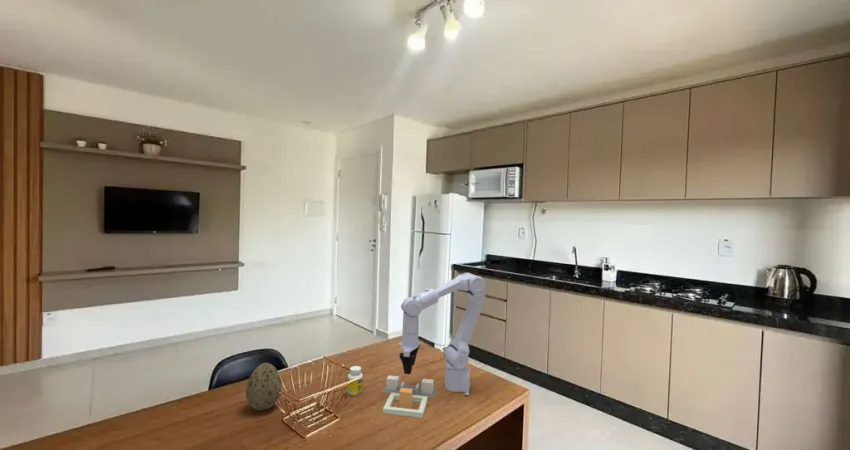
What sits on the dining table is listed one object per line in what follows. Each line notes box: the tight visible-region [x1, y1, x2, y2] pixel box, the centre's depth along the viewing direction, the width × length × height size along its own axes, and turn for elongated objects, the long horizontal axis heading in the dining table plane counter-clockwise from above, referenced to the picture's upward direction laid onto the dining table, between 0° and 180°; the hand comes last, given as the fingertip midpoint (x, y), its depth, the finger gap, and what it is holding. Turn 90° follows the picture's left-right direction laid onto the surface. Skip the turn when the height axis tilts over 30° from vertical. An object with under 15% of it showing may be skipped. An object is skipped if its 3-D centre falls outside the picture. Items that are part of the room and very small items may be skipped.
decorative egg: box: [245, 362, 283, 411], centre depth 122 cm, size 11×11×15 cm
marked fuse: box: [398, 388, 414, 409], centre depth 124 cm, size 4×3×6 cm
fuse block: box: [381, 374, 438, 399], centre depth 136 cm, size 19×8×5 cm, turn 81°
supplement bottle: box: [346, 365, 364, 397], centre depth 133 cm, size 5×5×10 cm
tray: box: [382, 393, 429, 419], centre depth 124 cm, size 13×11×2 cm
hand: (409, 369), depth 133 cm, fingers open, 7 cm apart
